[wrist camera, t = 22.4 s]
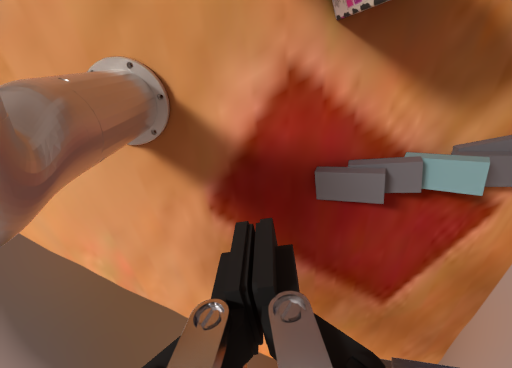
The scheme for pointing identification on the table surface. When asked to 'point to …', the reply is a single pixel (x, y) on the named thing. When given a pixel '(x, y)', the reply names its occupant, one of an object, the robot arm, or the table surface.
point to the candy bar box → (353, 6)
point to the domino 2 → (397, 172)
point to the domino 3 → (454, 172)
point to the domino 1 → (350, 184)
